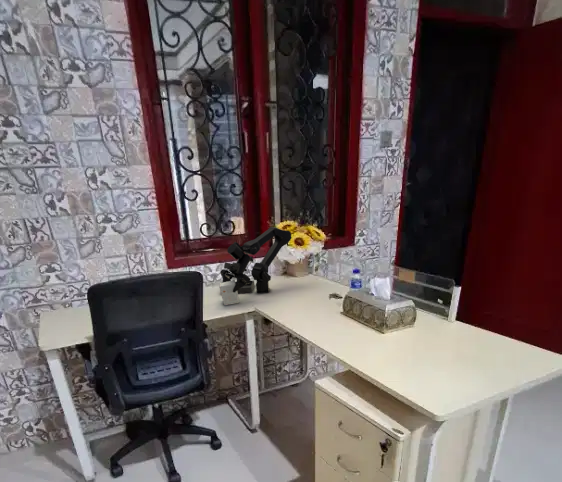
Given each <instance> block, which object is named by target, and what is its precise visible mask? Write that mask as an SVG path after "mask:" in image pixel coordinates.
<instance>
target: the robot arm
mask: <svg viewBox="0 0 562 482" xmlns="http://www.w3.org/2000/svg"><path fill="white" fill-rule="evenodd" d="M272 238H274V242H273V243H272V245H271V246H270V248H269V249H268V251H267V252H266V254H265V255H264V257H263V258H262V260H261V261H259V262H255V261H254V257H253V256H255V255H257V253H258V252H259V251H260V250H261V247H262V246H264V244H266V243H268V242H269V241H270V240H271V239H272ZM291 240H292V232H291V231H289V230H287V229H285V230H284V229H281V228H279V227H277V226H276V227H275V226H270V227H269V228H268V229H267V230H265V231H264V232H262V234H259V236H257V237H256V238H255V239H252V240H249V241H246V242H244V243H243V245H240V244H239V242H238V241H234V242H233V243H232V244H231V245H229V246H228V248H227V253H228V254H229V255H230V256H231V257H232V258H233V259H234V260H236V262H234V261H233V262H232V263H230V262H224V266H223V268H222V269H221V270H220V272H219V274H220V276H221V277H222V282H221V283H223V282H229V281H232V279H233V278H234V279H236V281H237V282H236V281H235V282H236V284H235V287H234V289H233V292H236V291H237V290H239V289H240V288H241V287H243V286H245V285H247V284H249V283H250V281H252V280H251V278H250V277H249V275H247V274H246V273H245V272H247V271H248V269H247V268H248V266H249V264H250V263H254V262H255V263H254V265H253V266H252V267H251V270H250V273H251V277H252V279H253V280H254V281H256V283H255V289H256V293H257V294H263V293H265V294H266V293H269V292H270V284H269V282H270V281H271V280H272V275H270V274H269V269H270V268H269V267H270V266H271V264H272V263H273V261H274V260H275V258H276V256H277V255H278V254H279V252H280V251H281V250H282V248H283V247H284V246H286V245H288V244H289V243H290V241H291Z"/></svg>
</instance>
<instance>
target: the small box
mask: <svg viewBox="0 0 562 482" xmlns="http://www.w3.org/2000/svg"><path fill="white" fill-rule="evenodd" d="M235 282H236V280H231V281H229V282H223V283H222V282H219V291H220V294H221V299H222V303H223V305H224V306H227V305H228V306H229V305H234V304H239V303H240V298H239V293H238V292H237V291H236V292H233V289H234V287H235Z"/></svg>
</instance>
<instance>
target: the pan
mask: <svg viewBox="0 0 562 482" xmlns="http://www.w3.org/2000/svg"><path fill="white" fill-rule="evenodd" d="M236 282H237V280H235V284H236ZM255 287H256V284H255V280H254V279H253V280H251V281H250V283H249V284H247V285H245V286H243V287H241V288H240V289H239V290H237V292H238V294H252V293H253V291H254V289H255Z"/></svg>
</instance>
